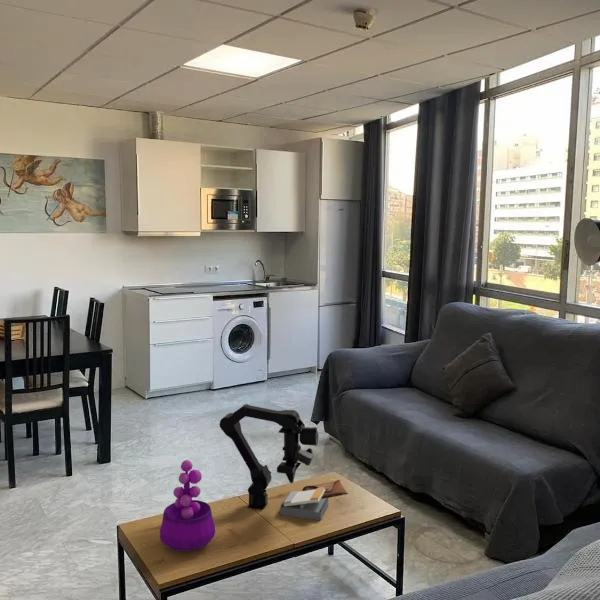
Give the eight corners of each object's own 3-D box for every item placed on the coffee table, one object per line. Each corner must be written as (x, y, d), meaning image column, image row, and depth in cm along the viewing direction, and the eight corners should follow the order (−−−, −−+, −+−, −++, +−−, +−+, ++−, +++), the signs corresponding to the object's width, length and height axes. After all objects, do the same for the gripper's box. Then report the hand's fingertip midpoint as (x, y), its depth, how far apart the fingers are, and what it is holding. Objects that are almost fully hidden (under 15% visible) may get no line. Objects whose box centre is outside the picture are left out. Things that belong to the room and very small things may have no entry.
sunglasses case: (311, 501, 243) (307, 484, 245) (304, 504, 248) (300, 487, 251) (349, 493, 251) (345, 477, 253) (342, 496, 256) (338, 480, 259)
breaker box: (280, 514, 231) (280, 503, 231) (289, 501, 243) (289, 490, 242) (321, 520, 227) (321, 508, 226) (328, 506, 238) (328, 495, 238)
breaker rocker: (284, 506, 231) (283, 502, 231) (292, 495, 241) (291, 491, 241) (318, 501, 227) (317, 497, 227) (325, 490, 237) (324, 486, 237)
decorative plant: (191, 526, 222) (190, 447, 219) (226, 542, 210) (225, 459, 207) (148, 546, 208) (146, 461, 204) (184, 564, 196) (182, 475, 193)
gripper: (305, 453, 222) (305, 494, 224) (317, 437, 240) (317, 475, 242) (276, 451, 225) (276, 491, 227) (290, 435, 243) (290, 472, 245)
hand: (291, 482), depth 235 cm, fingers closed
